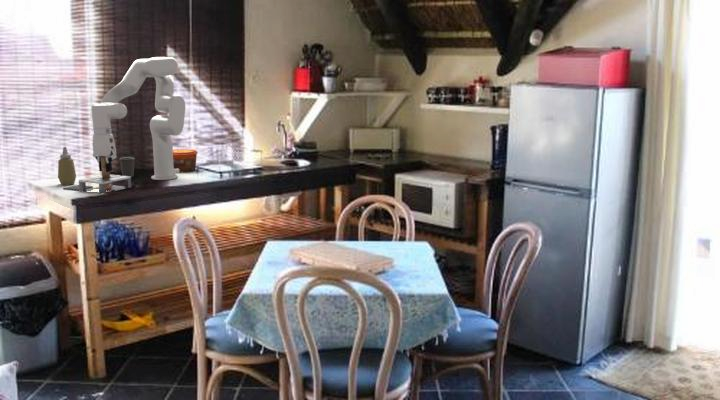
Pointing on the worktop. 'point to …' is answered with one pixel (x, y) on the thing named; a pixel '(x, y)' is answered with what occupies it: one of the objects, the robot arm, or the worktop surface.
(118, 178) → the small grey pallet
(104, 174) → the dowel
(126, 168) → the coffee cup
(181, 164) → the food container
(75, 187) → the mat
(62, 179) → the squeeze bottle
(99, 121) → the robot arm
